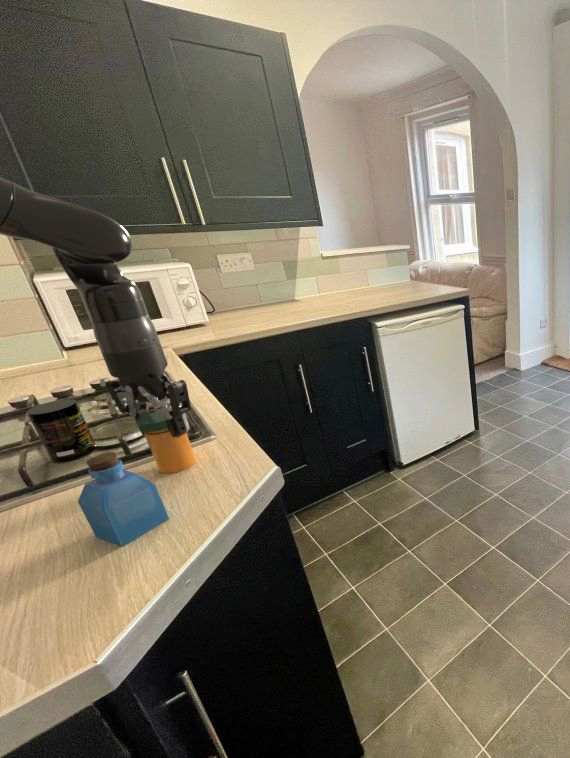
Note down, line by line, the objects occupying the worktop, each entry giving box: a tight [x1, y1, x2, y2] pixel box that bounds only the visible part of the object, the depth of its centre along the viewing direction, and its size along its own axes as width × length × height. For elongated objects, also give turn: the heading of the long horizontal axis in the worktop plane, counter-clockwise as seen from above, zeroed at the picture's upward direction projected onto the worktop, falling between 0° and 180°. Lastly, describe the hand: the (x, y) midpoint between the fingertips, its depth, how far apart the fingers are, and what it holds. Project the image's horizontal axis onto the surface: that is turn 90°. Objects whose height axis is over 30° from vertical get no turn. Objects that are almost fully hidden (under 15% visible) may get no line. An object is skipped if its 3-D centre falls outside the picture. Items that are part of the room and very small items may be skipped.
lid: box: [136, 410, 172, 432], centre depth 74 cm, size 6×6×2 cm
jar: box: [143, 428, 197, 475], centre depth 76 cm, size 6×6×9 cm
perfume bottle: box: [77, 451, 170, 548], centre depth 60 cm, size 6×6×12 cm
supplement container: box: [26, 398, 97, 463], centre depth 81 cm, size 7×7×10 cm
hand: (164, 433), depth 75 cm, fingers closed on lid, 5 cm apart
